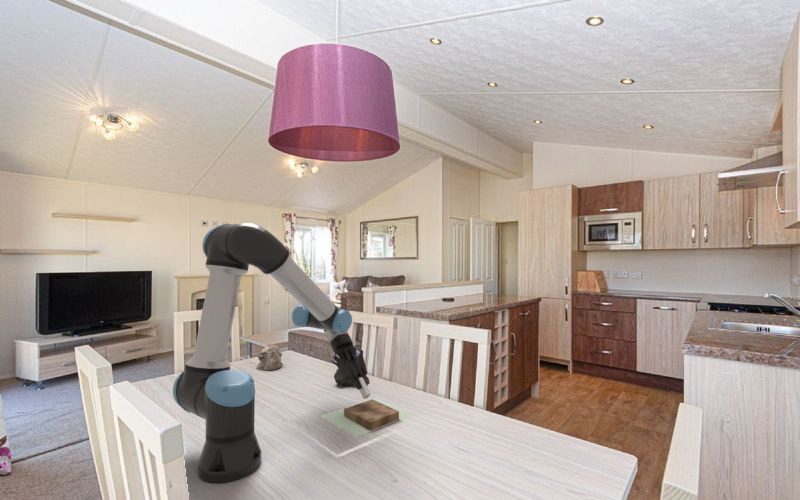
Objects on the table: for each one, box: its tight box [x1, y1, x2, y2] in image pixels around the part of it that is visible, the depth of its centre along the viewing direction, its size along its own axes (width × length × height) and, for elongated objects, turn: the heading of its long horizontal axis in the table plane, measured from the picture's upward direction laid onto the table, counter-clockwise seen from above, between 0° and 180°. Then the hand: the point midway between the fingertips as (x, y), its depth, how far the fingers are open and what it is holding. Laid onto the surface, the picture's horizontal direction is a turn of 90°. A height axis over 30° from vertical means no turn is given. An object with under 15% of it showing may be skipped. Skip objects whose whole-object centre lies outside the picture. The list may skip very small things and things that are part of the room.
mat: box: [319, 397, 414, 438], centre depth 130 cm, size 24×20×1 cm
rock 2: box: [333, 368, 371, 387], centre depth 161 cm, size 14×9×10 cm
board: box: [344, 398, 399, 432], centre depth 128 cm, size 12×2×14 cm
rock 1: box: [256, 344, 283, 371], centre depth 186 cm, size 15×12×10 cm
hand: (367, 396), depth 130 cm, fingers closed
